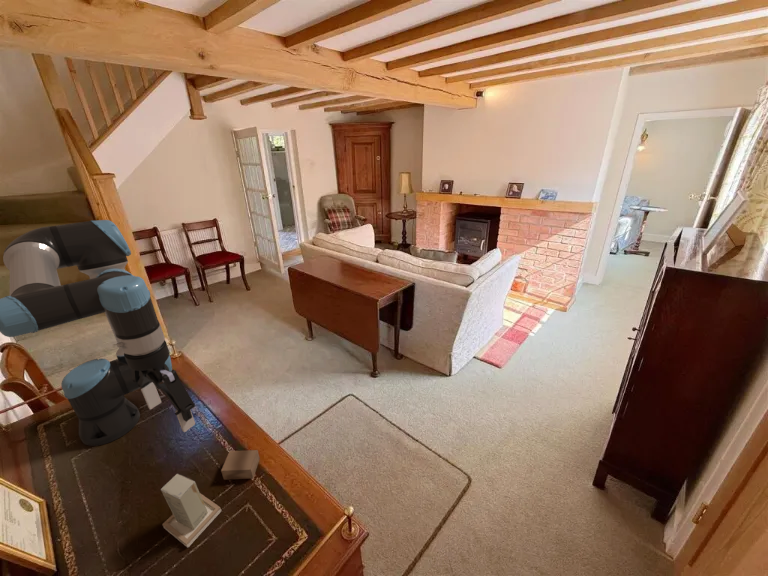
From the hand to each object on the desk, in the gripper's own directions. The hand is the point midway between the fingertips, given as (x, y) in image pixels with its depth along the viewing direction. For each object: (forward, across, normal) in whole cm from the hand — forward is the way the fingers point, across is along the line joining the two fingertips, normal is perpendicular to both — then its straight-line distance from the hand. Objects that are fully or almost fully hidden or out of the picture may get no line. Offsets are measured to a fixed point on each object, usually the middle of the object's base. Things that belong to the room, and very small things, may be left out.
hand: (171, 416), depth 77 cm
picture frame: (+24, +10, -7) cm, 27 cm away
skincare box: (+23, +10, -7) cm, 26 cm away
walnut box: (+24, +10, +8) cm, 27 cm away
